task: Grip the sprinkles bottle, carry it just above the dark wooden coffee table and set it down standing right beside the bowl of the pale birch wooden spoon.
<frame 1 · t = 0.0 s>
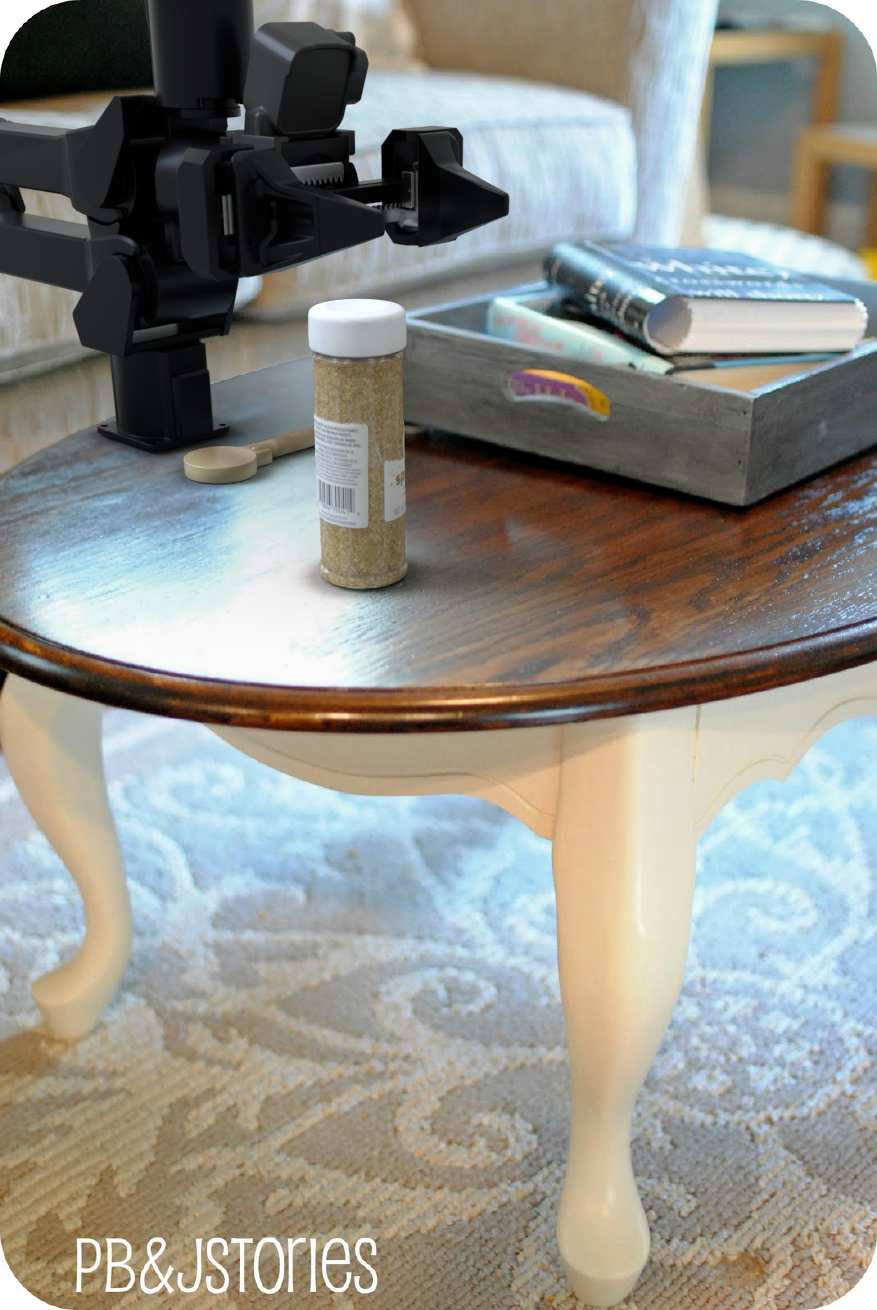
hand: (447, 214, 68), 17 cm above the table, tool horizontal, fingers open, 9 cm apart
sprinkles bottle: (362, 578, 69), on the table
wooden spoon: (282, 454, 87), on the table
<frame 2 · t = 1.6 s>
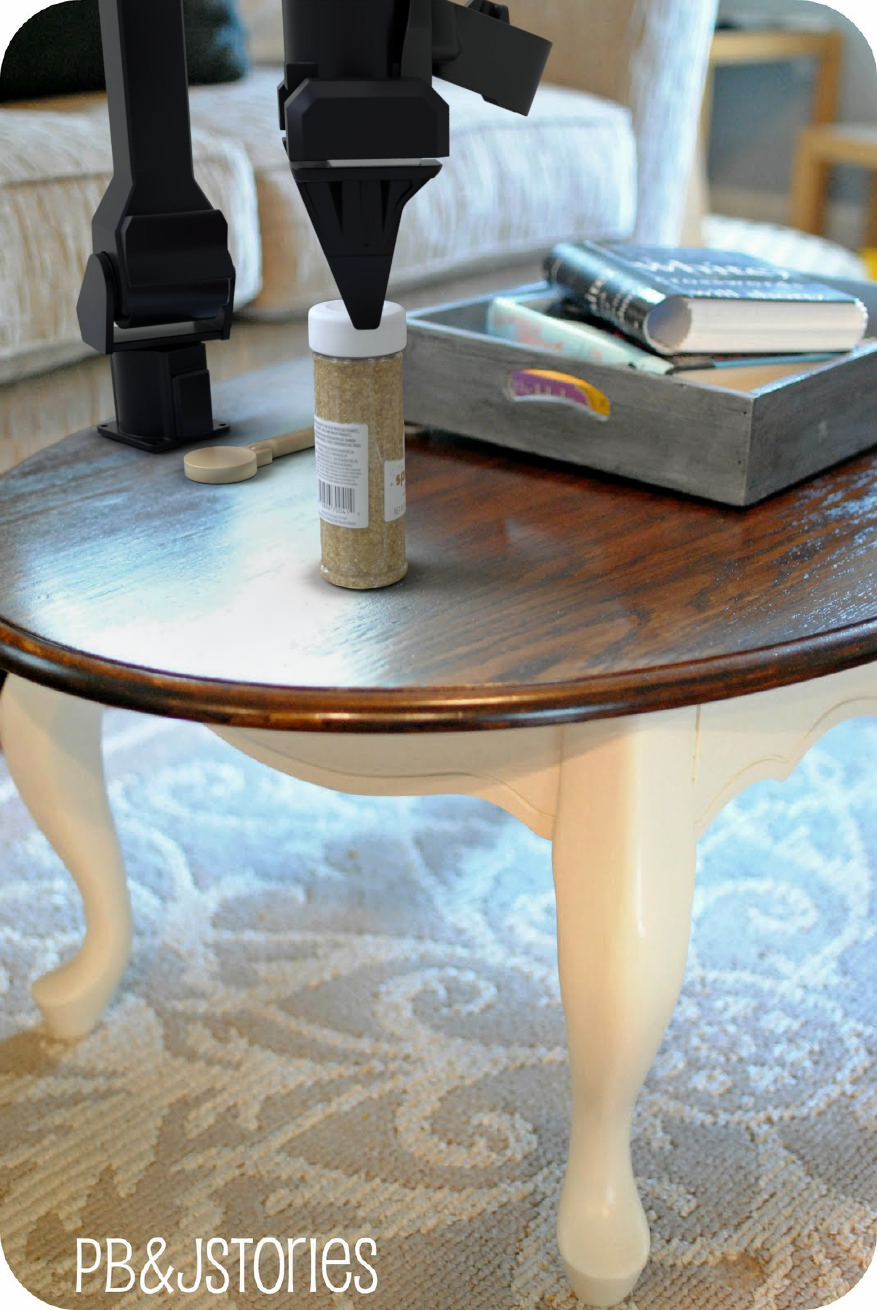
hand: (358, 308, 63), 13 cm above the table, tool pointing down, fingers open, 9 cm apart
nothing on the table moved.
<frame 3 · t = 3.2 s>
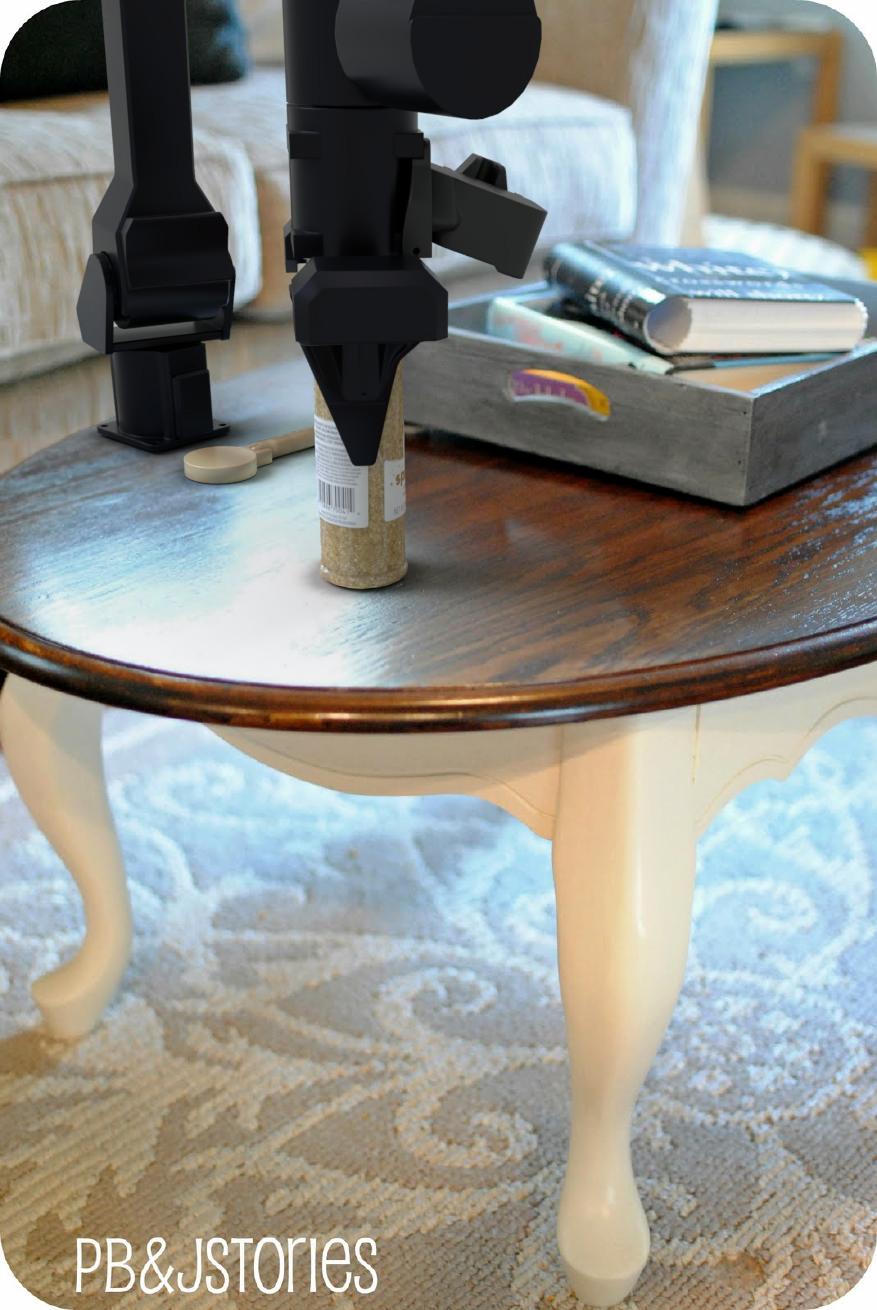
hand: (360, 450, 66), 7 cm above the table, tool pointing down, fingers closed on sprinkles bottle, 4 cm apart
sprinkles bottle: (362, 578, 69), on the table, touching gripper
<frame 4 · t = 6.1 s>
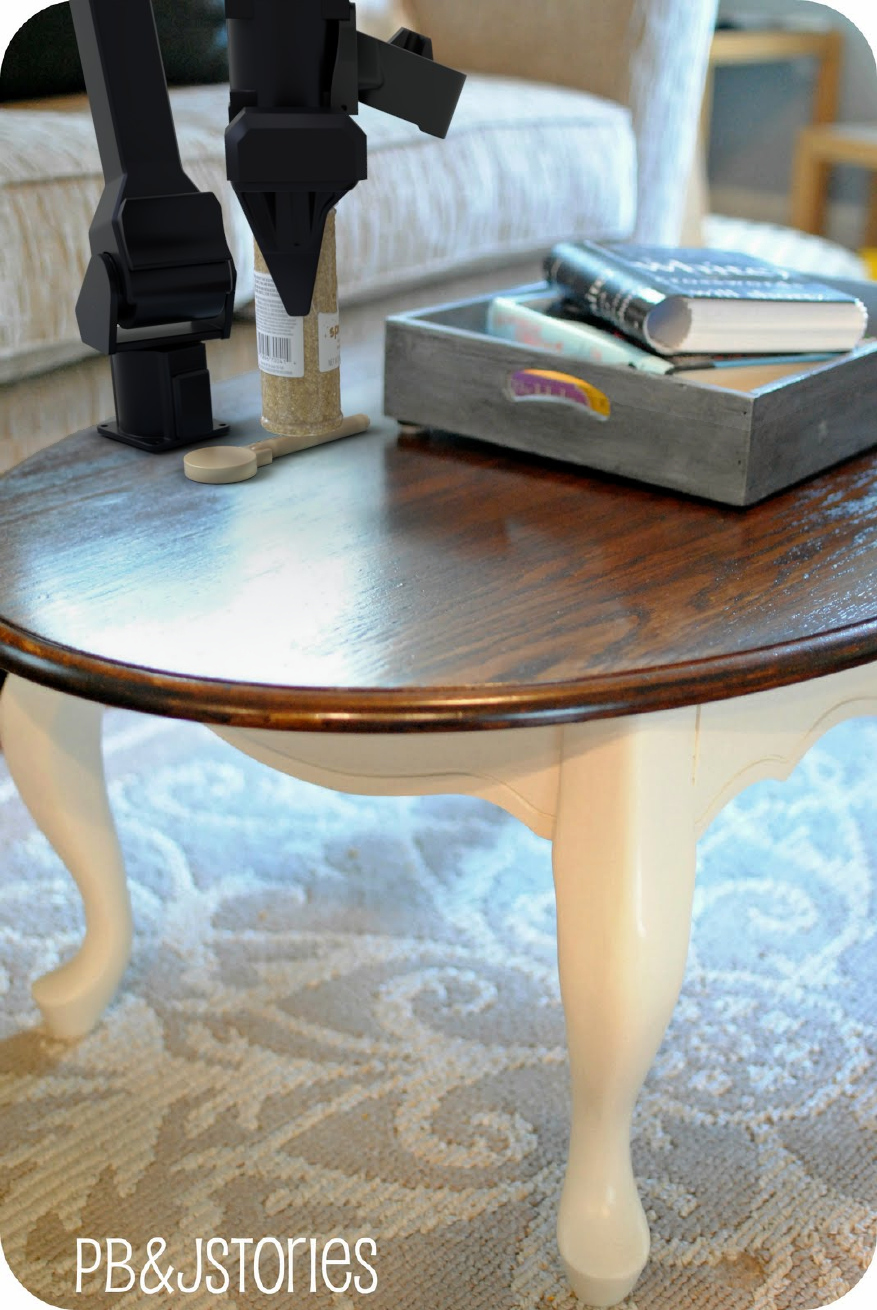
hand: (297, 305, 71), 12 cm above the table, tool pointing down, fingers closed on sprinkles bottle, 4 cm apart
sprinkles bottle: (301, 430, 74), point 5 cm above the table, touching gripper
when the fingers open (7 cm above the table, at t = 8.8 s): sprinkles bottle stays where it is, on the table.
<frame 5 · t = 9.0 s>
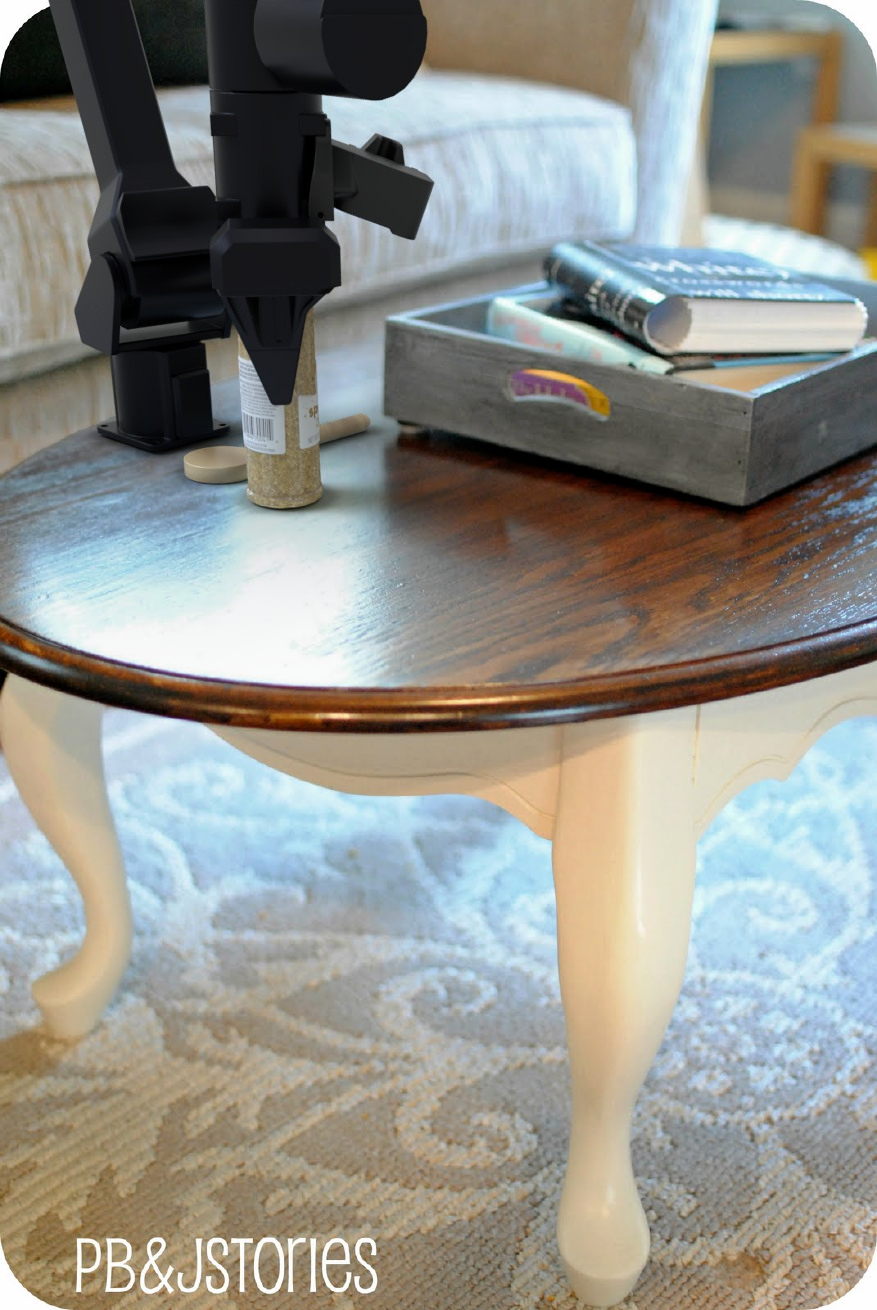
hand: (280, 390, 76), 6 cm above the table, tool pointing down, fingers open, 6 cm apart
sprinkles bottle: (284, 500, 79), on the table
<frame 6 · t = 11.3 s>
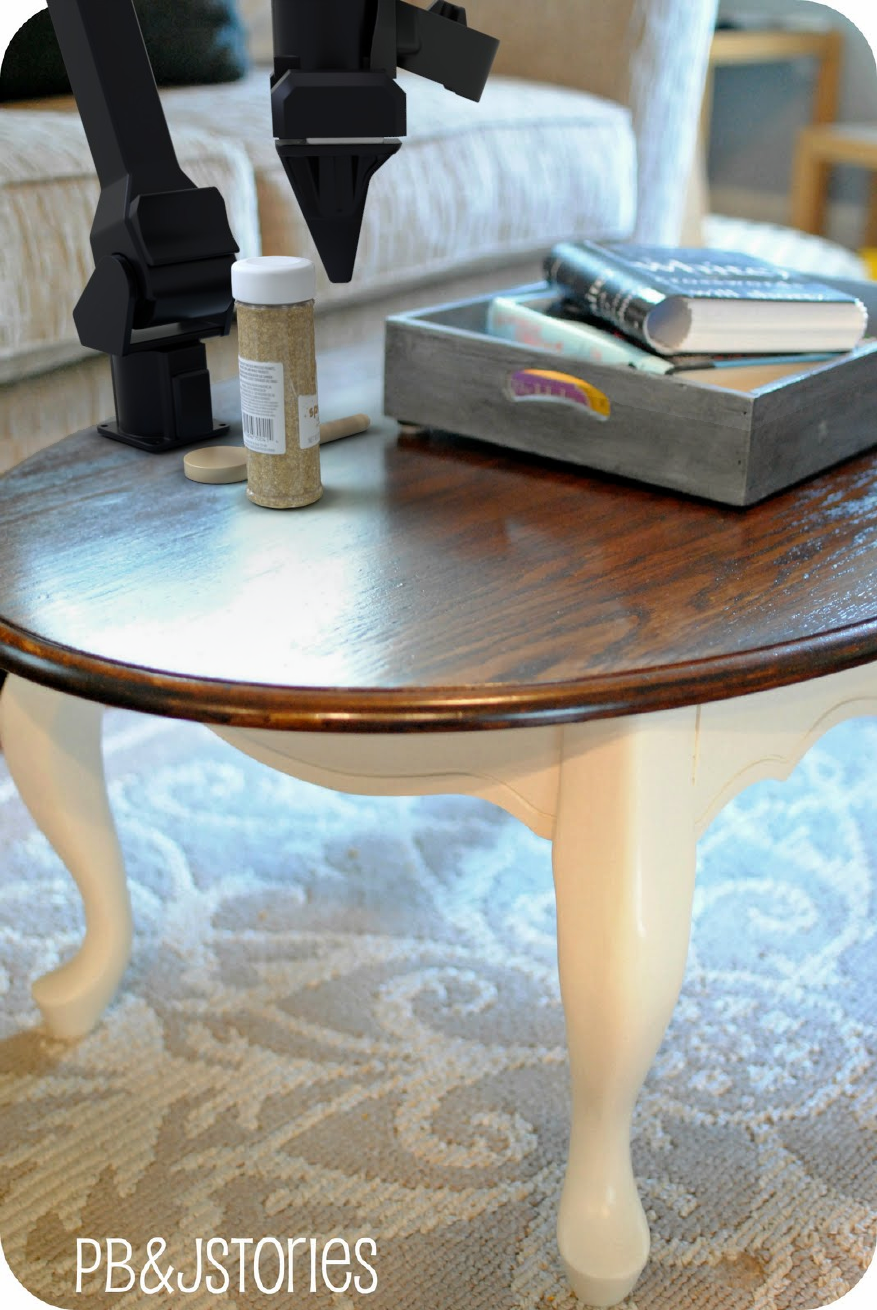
hand: (336, 266, 74), 13 cm above the table, tool pointing down, fingers open, 9 cm apart
nothing on the table moved.
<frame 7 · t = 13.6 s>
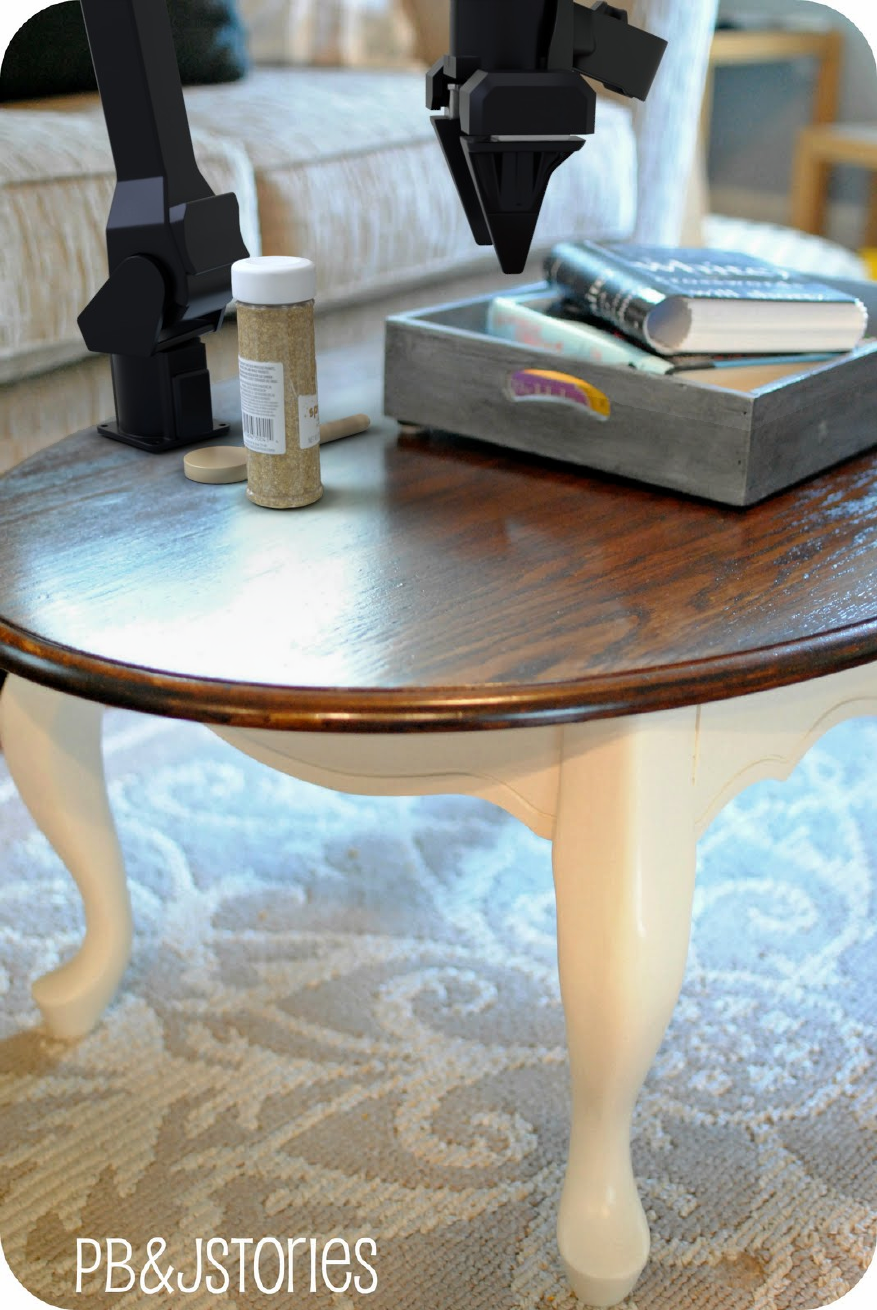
hand: (498, 258, 77), 13 cm above the table, tool pointing down, fingers open, 9 cm apart
nothing on the table moved.
at the end: sprinkles bottle inside the target area on the table beside the wooden spoon (0.7 cm from its centre), on the table; sprinkles bottle tilted 0°; sprinkles bottle moved 12.7 cm from its start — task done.
